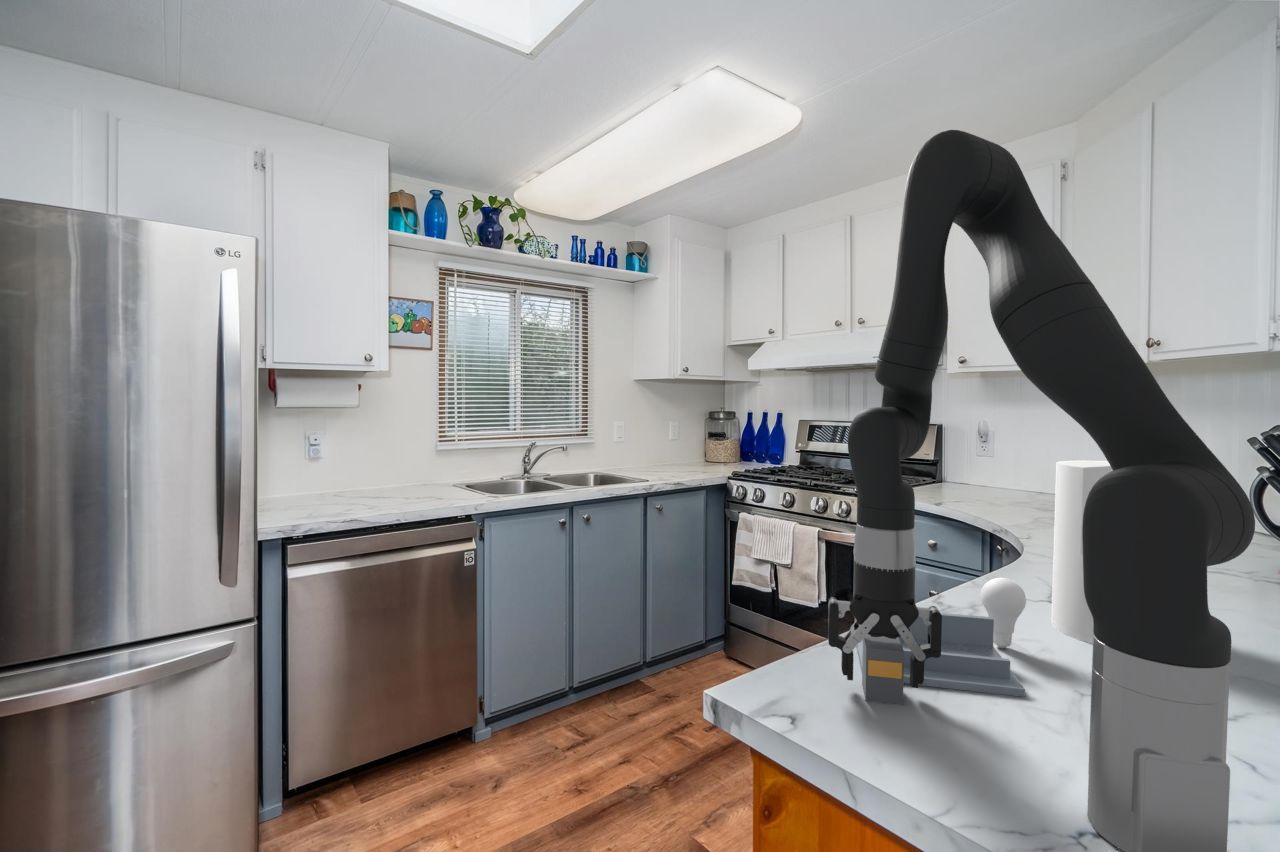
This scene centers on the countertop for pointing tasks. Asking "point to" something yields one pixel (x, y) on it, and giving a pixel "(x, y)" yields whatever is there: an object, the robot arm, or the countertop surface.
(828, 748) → the countertop surface
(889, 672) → the block
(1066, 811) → the countertop surface
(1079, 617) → the cylinder
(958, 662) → the grey stepped stand
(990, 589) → the lightbulb
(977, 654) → the plate
